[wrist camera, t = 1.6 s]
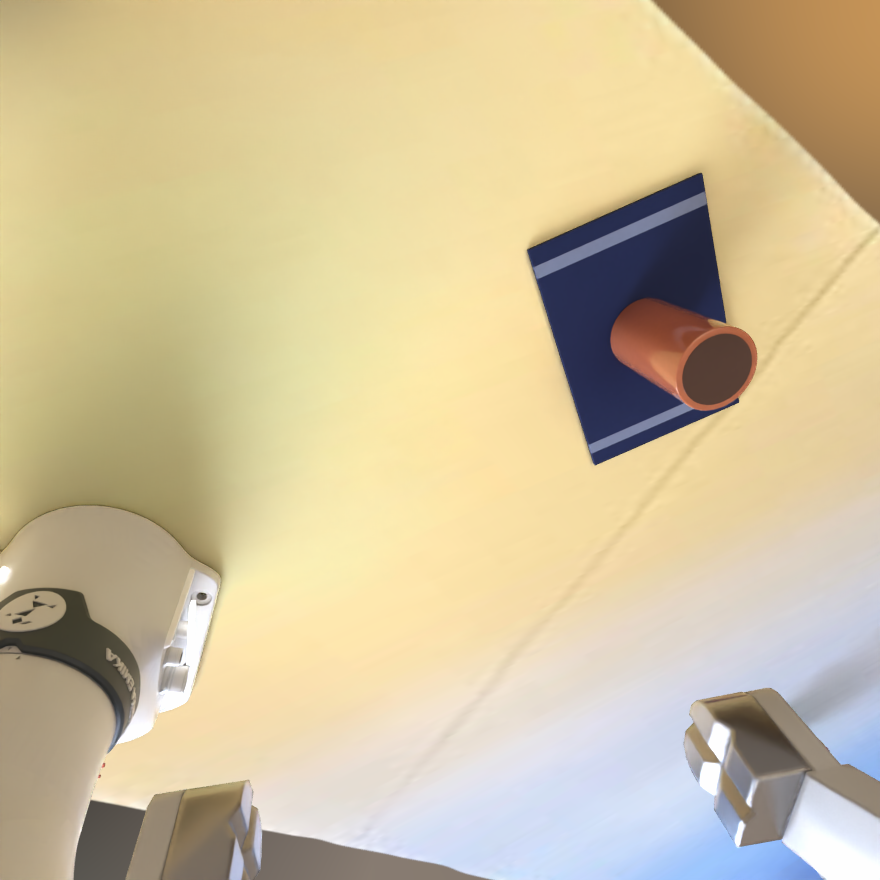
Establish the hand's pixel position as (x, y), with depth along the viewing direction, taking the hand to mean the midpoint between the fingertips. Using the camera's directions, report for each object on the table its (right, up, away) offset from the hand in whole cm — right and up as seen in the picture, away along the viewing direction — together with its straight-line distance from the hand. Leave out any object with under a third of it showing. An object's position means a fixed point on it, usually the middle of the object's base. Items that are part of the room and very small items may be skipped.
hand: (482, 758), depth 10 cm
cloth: (+16, +15, +37) cm, 42 cm away
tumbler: (+16, +15, +36) cm, 42 cm away
